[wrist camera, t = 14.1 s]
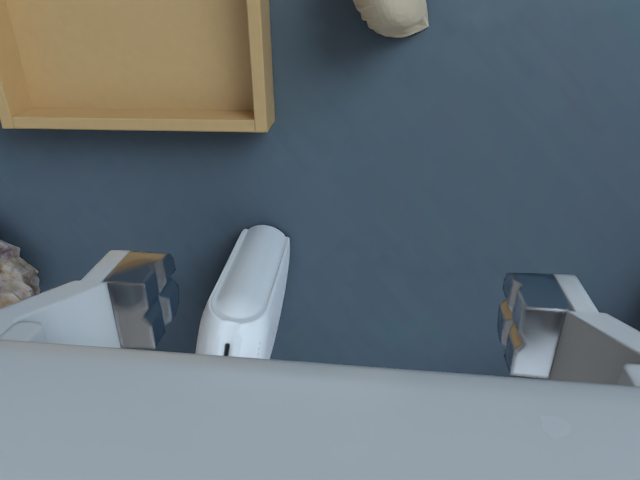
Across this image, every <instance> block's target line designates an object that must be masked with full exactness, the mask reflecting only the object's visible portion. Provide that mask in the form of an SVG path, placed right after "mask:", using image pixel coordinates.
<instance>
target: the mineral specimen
mask: <svg viewBox="0 0 640 480" xmlns="http://www.w3.org/2000/svg"><path fill="white" fill-rule="evenodd" d="M19 256H20V248H19V247H17V246H14V245H11V244H9V243H6V242H5V241H3V240H1V239H0V309H1V308H4V307H6V306H9V305H11V304H14V303H17V302H19V301H22V300H25V299H27V298H30V297H32V296H35V295H38V294H40V288H39V278H38V276H37V274H38V272H39V271H38V270H37V269H35V268H34V267H33V266H32V265H30V264H28V263H27V262H26V261H24V260H23V259H22V258H21V257H19Z"/></svg>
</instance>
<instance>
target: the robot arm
mask: <svg viewBox="0 0 640 480" xmlns="http://www.w3.org/2000/svg"><path fill="white" fill-rule="evenodd" d="M175 270H176V269H175V263H174V258H173V257H172V255H171V254H167V253H153V252H140V251H131V250H110V251H109V252H108V253H107V254H106V255H105V256H104V257H103V258H102V259H101V260H100V261H99V262H98V263H97V264H96V265H95V266H94V267H93V268H92V269H91V270H90V271H89V272H88V273H87V274H86V275H85V276H84V277H83V278H82V279H81V280H80V281H72V282H69V283H66V284H64V285H61V286H59V287H56V288H53V289H51V290H48V291H45V292H43V293H40V294H38V295H35V296H32V297H30V298H27V299H25V300H22V301H19V302H17V303H14V304H11V305H9V306H6V307H4V308H1V309H0V480H640V331H638V330H636V329H634V328H632V327H630V326H629V325H627V324H625V323H623V322H621V321H619V320H618V319H616V318H614V317H612V316H610V315H609V314H607V313H599V312H598V310H597V308H596V307H595V305H594V304H593V302H592V301H591V299H590V297H589V296H588V294H587V293H586V291H585V289H584V288H583V286H582V285H581V283H580V281H579V280H578V278H577V277H576V276H574V275H566V274H536V273H506V276H505V279H504V283H503V288H502V289H503V292H504V295H505V297H506V299H505V300H504V301H503V302H502V303H501V304H500V305H499V311H498V321H497V329H498V336H499V340H500V343H501V344H502V345H504V346H505V347H506V349H505V354H504V357H505V360H506V363H507V366H508V369H509V372H510V375H516V376H526V377H536V378H546V379H549V380H544V379H530V378H517V377H503V376H490V375H476V374H462V373H449V372H435V371H422V370H408V369H395V368H381V367H367V366H354V365H340V364H327V363H313V362H300V361H287V360H273V359H260V358H246V357H233V356H219V355H206V354H192V353H179V352H165V351H152V350H138V349H125V348H121V347H127V348H149V349H155V348H156V346H157V345H158V343H159V341H160V340H161V338H162V337H163V335H164V333H165V326H164V325H165V324H167V323H169V322H171V321H172V320H173V318H174V316H175V315H176V312H177V308H178V304H179V289H178V285H177V283H176V282H175V281H174V280H173V279H172V278H171V276H172V274H173V273H174V271H175Z"/></svg>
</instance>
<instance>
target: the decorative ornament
mask: <svg viewBox="0 0 640 480" xmlns="http://www.w3.org/2000/svg"><path fill="white" fill-rule="evenodd" d="M353 2H354V4H355V7H356V9H357V10H358V11H359V13H361V18H362V20H364V21H367V26H368V27H369V28H371V29H373V30H374V31H375V32H376V33H379V34H382V35H383V36H386V37H395V38H401V37H406V36H409V35H412V34H415V33H417V32H419V31H421V30H423V29H425V28H426V27H428V26H429V25H428V13H427V5H426V0H353Z"/></svg>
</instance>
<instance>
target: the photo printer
mask: <svg viewBox="0 0 640 480" xmlns="http://www.w3.org/2000/svg"><path fill="white" fill-rule="evenodd" d="M289 258H290V241H289V237H285V235H284V234H283V233H282V232H281V231H280V230H278V229H276V228H274V227H271V226H267V225H257V226H253V227H251V228H250V229H244V230H243V231H242V232H241V234H240V236H239V238H238V240H237V242H236V244H235V246H234V248H233V250H232V252H231V254H230V256H229V258H228V261H227V263H226V265H225V267H224V269H223V271H222V273H221V275H220V277H219V279H218V281H217V283H216V285H215V287H214V289H213V291H212V293H211V295H210V297H209V299H208V301H207V304H206V306H205V309H204V311H203V314H202V318H201V322H200V327H199V332H198V338H197V345H196V353H195V354H206V355H219V356H233V357H246V358H260V359H270V355H271V352H272V348H273V344H274V340H275V336H276V332H277V328H278V323H279V319H280V314H281V309H282V304H283V299H284V293H285V288H286V281H287V274H288V266H289Z"/></svg>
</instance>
